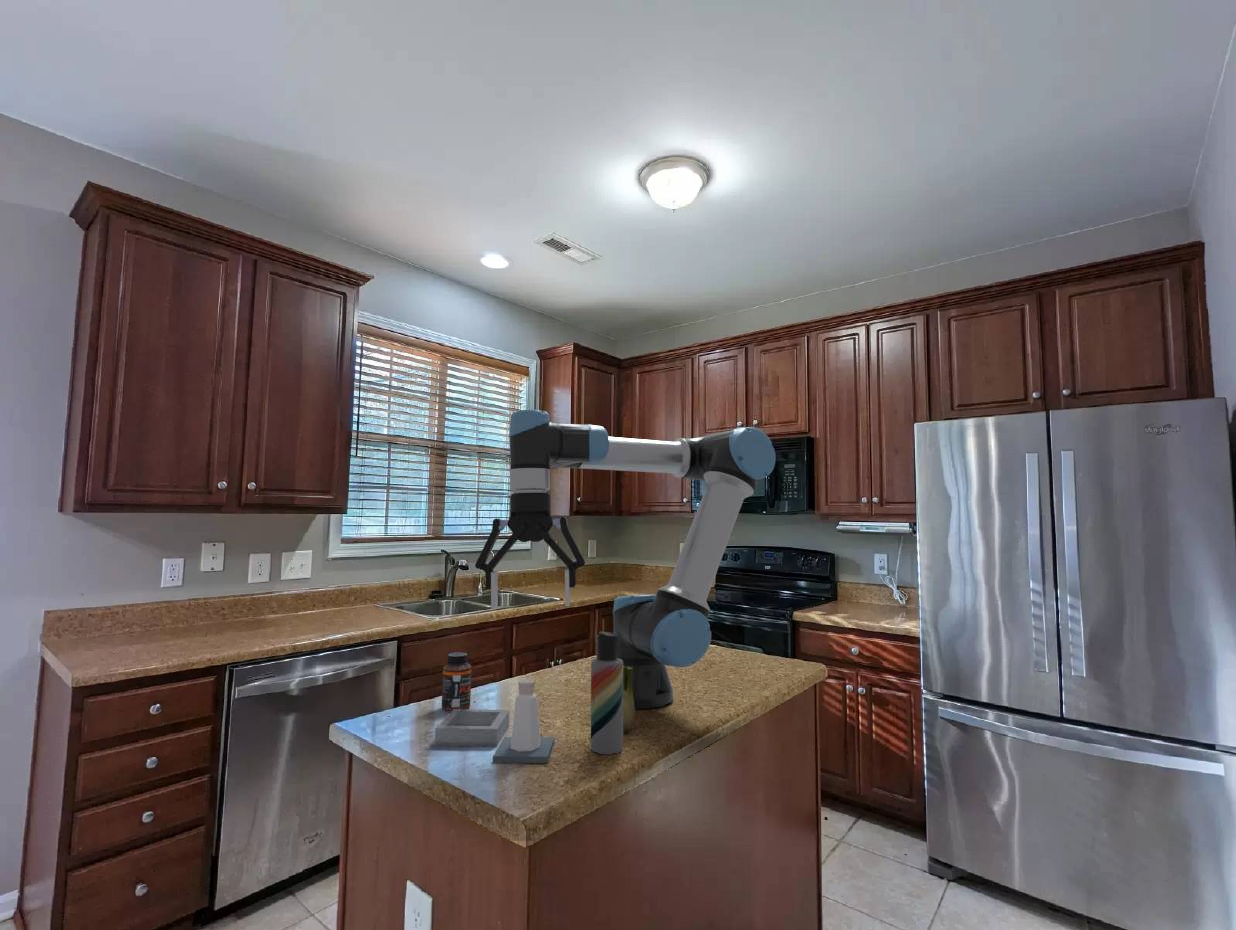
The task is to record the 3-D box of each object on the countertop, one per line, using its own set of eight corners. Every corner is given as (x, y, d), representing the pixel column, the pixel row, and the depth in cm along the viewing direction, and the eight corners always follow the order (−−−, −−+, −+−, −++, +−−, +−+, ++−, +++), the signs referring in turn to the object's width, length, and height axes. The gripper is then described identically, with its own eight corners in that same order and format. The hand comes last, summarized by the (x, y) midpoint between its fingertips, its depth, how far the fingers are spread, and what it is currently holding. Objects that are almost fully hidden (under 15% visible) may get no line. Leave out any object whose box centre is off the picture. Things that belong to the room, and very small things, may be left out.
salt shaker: (515, 754, 100) (516, 686, 101) (505, 743, 105) (506, 678, 106) (546, 748, 103) (546, 682, 104) (534, 738, 108) (535, 675, 109)
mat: (554, 743, 108) (554, 737, 108) (547, 763, 99) (547, 756, 99) (504, 742, 108) (504, 736, 109) (493, 762, 99) (493, 756, 100)
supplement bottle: (462, 713, 125) (464, 657, 126) (436, 712, 126) (437, 656, 127) (475, 705, 131) (476, 651, 132) (449, 703, 132) (451, 650, 133)
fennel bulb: (602, 735, 112) (603, 669, 113) (605, 726, 117) (605, 663, 118) (634, 736, 112) (634, 669, 113) (635, 727, 117) (635, 663, 118)
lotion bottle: (589, 743, 108) (590, 629, 110) (621, 742, 109) (621, 629, 110) (591, 755, 102) (591, 635, 104) (624, 754, 103) (624, 634, 105)
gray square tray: (509, 725, 117) (509, 709, 118) (496, 746, 106) (496, 728, 107) (453, 725, 118) (453, 709, 118) (434, 745, 107) (435, 728, 107)
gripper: (596, 491, 118) (598, 601, 116) (468, 494, 118) (468, 604, 116) (595, 490, 111) (598, 607, 109) (459, 492, 110) (458, 611, 108)
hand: (531, 606), depth 112 cm, fingers open, 13 cm apart
